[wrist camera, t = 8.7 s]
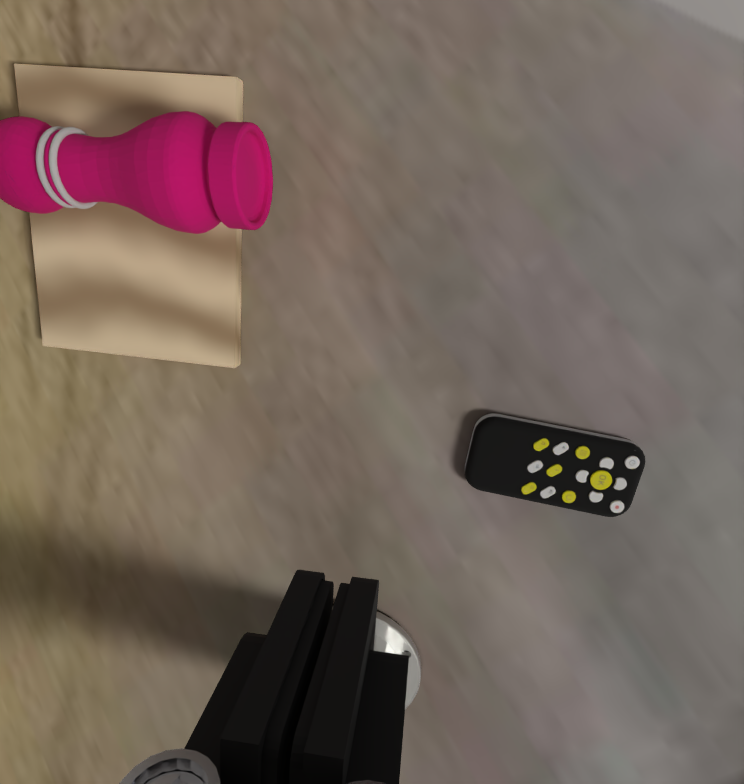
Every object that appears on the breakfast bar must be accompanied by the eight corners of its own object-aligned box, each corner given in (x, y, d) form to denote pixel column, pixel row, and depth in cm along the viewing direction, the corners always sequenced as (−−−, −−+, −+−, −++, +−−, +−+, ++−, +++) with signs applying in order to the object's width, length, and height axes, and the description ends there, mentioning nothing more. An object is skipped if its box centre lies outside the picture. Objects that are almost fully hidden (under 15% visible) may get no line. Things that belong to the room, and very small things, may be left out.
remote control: (477, 407, 42) (479, 416, 40) (644, 440, 41) (654, 450, 39) (460, 478, 44) (461, 490, 42) (620, 511, 43) (628, 524, 41)
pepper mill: (239, 251, 33) (-47, 229, 36) (279, 224, 39) (32, 208, 42) (224, 116, 29) (-92, 106, 32) (271, 110, 35) (2, 102, 38)
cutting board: (240, 364, 43) (234, 367, 42) (53, 342, 44) (42, 345, 43) (243, 81, 37) (236, 77, 36) (26, 68, 39) (14, 63, 37)
